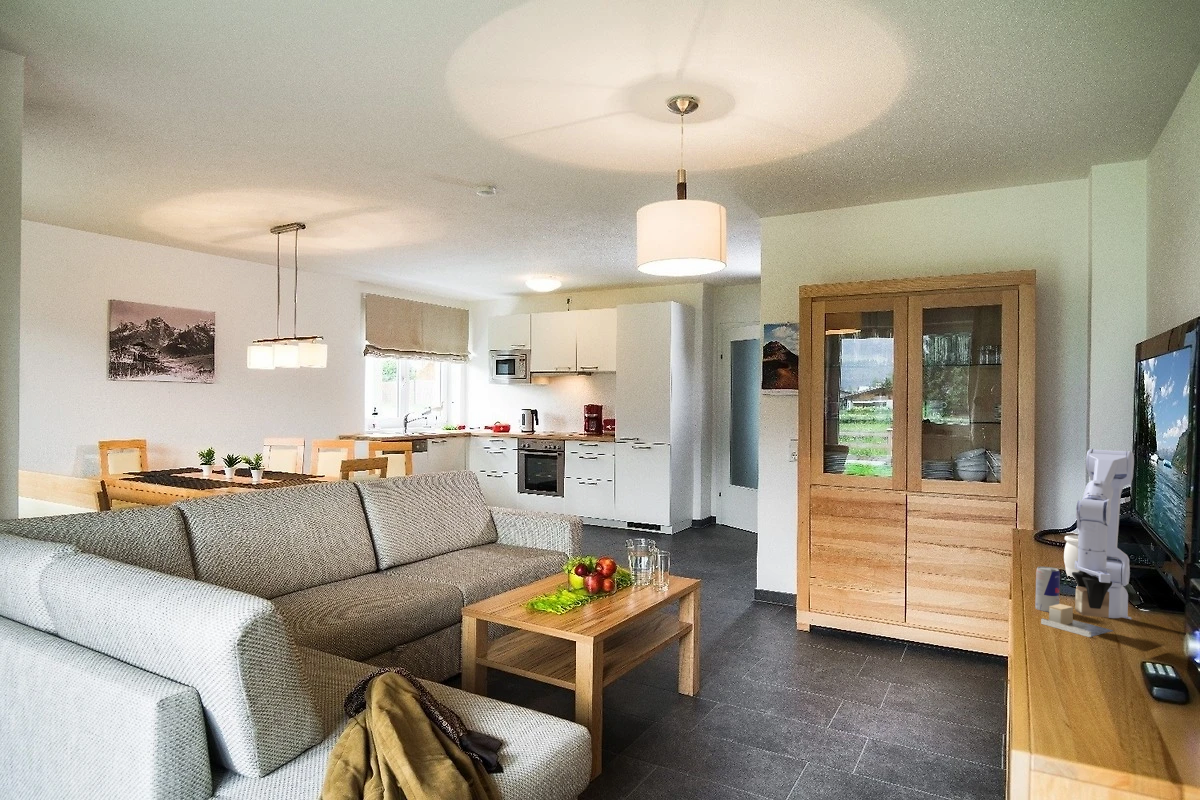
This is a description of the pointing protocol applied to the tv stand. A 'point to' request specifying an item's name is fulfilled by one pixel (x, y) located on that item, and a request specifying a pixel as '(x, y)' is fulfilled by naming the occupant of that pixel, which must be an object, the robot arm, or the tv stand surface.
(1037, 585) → the energy drink
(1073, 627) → the shelf board
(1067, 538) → the jar
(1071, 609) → the beige rectangular block
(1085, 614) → the brown thick square block
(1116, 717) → the tv stand surface
